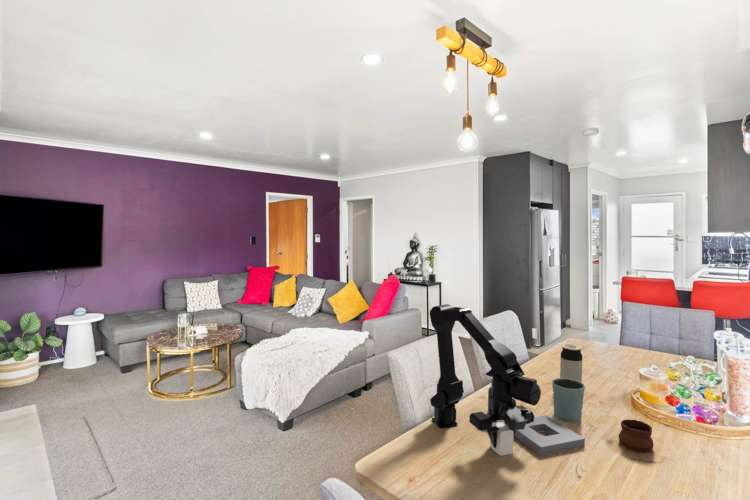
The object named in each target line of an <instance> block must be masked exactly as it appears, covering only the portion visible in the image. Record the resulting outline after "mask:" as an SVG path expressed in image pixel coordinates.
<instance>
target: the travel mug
mask: <svg viewBox="0 0 750 500" xmlns="http://www.w3.org/2000/svg"><path fill="white" fill-rule="evenodd" d="M561 349H562V350H561V351H560V365H559V367H560V368H559V369H560V370H559V378H567V379H573V380H576V381H579V382H581V383H583V354H582V350H583V347H582V346H580V345H578V344H573V343H563V344H562V345H561Z"/></svg>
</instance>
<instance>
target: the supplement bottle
mask: <svg viewBox="0 0 750 500" xmlns="http://www.w3.org/2000/svg"><path fill="white" fill-rule="evenodd" d="M492 382H493V378H492V379H491V384H490V385H491V386H490V387H489V388H488V393H487V413H488V415H492V413H491V412H490V411H489V408H491V407H492V399H491V398H490V394H492Z"/></svg>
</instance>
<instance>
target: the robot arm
mask: <svg viewBox="0 0 750 500" xmlns="http://www.w3.org/2000/svg"><path fill="white" fill-rule="evenodd" d="M429 318H430V323H431V325H432V327H433V330H434V331H435V333H436V339H437V340H436V341H437V350H438V351H437V352H438V362H439V372H440V373H439V375H440V376H439V378H438V381H437V384H436V394H434V395H433V396H432V397H431V398H430V399H429V401H430V406H431V407H433V409H434V410H433V415H434V417H432V418H431V421H432V422H434V423H435V424H436V426H437V427H439V428H440V429H443V428H450V427H457V426H458V423H457V422H456V421H457V409H456V404H459V401H460V400H461V399H462V398H463V395H464V393H465V391H464V382H463V379H459V378H458V377H457V373H456V366H455V365H456V364H455V354H454V345H453V330H454V329H453V328H454V326H455V325H456V324H455V323H456V322H459V324H461V325H460V326H462V327H463V328H464V330H466V332H467V333H468V334H469V335H470V337H471V338H472V339H473V340H474V341H475V342H476V344H477V345H478V346H479V347H480V349H481V350H482V351H483V354H484V358H485V360H486V362H487V364H488V365H489V367H490V370H488V371H486V372H485V375H486V376H488V377H491V378H492V379H493V382H492V381H491V383H492V394H490V398H491V399H492V407H491V408H489V411H490V412H491V413H492V415H489V414H488V415H487V414H485V413H484V412H483V411H476V412H472V413H470V414H469V417H468V418H469V420H468V421H469V423H470V424H471V425H472V426H474V427H475V428H476V429H477V430H478V431H481V432H483V431H486V433H487V435H488V437H489V441H490V440H491V443H492V445H493V447H494V448H496V445H497V431H498V430H499V428H498V427H496V423H499V422H504V423H505V424H507V426H508V428H509V429H510V430H511V431H514V432H513V437H515V436H514V434H515V432H516V430H520V429H521V430H523V429H524V428H525V425H526V424H530V422H534V417H535V414H534V412H533V411H532V410H531V409H529V408H527V407H525V406H524V405H517V402H516V400H517V401H520V402H522V403H525V404H528V405H532V406H537V404H538V403H539V401H540V399H541V395H542V390H541V387H540V385H539V384H538V380H537V379H534V378H529V377H526V376H524V375H525V372H524V370H523V369H522V367H521V364H520V363H519V362H518V360H517V358H518V357H517V355H516V353H514V352H513V350H511V349H510V348H509V347H508V346H506V345H505V344H503V343H501V342H499V341H497V339H495V337H493V336H492V334H491V333H490V332H489V331H488V329H486V327H484V325H483V324H482V323H481V322H480V320H479V319H478V318H477V317H476V316H475V314H473V312H472V310H471V309H470V308H468V307H459V306H452V305H451V304H448V303H447V304H441V305H435V306H433V307H431V309H430V310H429ZM511 370H512V371H511ZM508 371H509V372H508Z"/></svg>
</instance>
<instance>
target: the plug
mask: <svg viewBox="0 0 750 500" xmlns="http://www.w3.org/2000/svg"><path fill="white" fill-rule="evenodd" d="M496 427H498V428H499V430H498V431H497V445H496V448H494V447H493V445H492V443H491V440H490V439H489V448H490V449H492V450H493V452H495V453H496V454H498V455H499V456H500V457H501V456H507V455H510V454H513V453H514V436H513V432H514V431H511V430H510V429H509V428H508V426H507V424H505V423H504V421H498V422H497V423H496Z"/></svg>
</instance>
